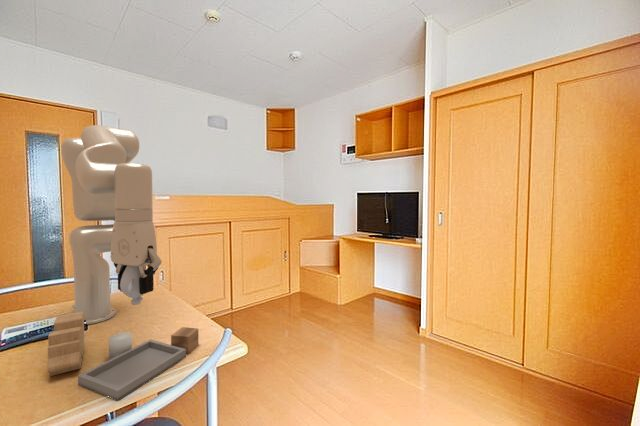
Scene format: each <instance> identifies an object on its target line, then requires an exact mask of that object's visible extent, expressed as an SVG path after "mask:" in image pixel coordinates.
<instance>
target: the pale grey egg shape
mask: <svg viewBox="0 0 640 426" xmlns="http://www.w3.org/2000/svg"><path fill="white" fill-rule="evenodd" d="M132 336H133V335H132V333H130V332H129V331H128V332H125V331H124V332H119V333H116V334H113V335H112V336H110V337H109V338H108V358H109V359H108V360H110V359H112V358H114V357H116V356H118V355H120V354H122V353H124V352H126V351H128V350H130V349H132V348H133V344H132V343H133V337H132Z"/></svg>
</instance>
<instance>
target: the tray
mask: <svg viewBox="0 0 640 426" xmlns="http://www.w3.org/2000/svg"><path fill="white" fill-rule="evenodd" d="M185 358H187V354H186V349H184V348H180V347H177V346H173V345H171V344H168V343H166V342H162V341H158V340H155V339H149V340H146V341H144V342H143V343H140V344H138V345H136V346H134V347H132V349H130V350H128V351H126V352H124V353H122V354H120V355H118V356H116V357H114V358H112V359H108V360H106V361H105V362H102V363H100V364H99V365H96V366H94V367H92V368H90V369H88V370H86V371H84V372H83V373H80V374H78V375H77V385H78V386H79V387H82V388H84V389H86V390H89V391H92V392H94V393H97V394H98V395H101V394H102V396H104V395H105V396H104V397H106V396H109V397H111V398H113V399H112V400H114V399H115V400H114V401H116V402H119V401H120V400H122V399H123V398H124V399H125V398H126V396H128V395H131V394H132V393H133V392H135V391H136V390H138V389H139V388H141V387H142V386H144V385H145V384H147V383H148V382H149V380H150V381H151V380H153V379H154V377H155V378H156V377H158V376H159V375H161V374H162V373H164V372H165V371H167V370H168V368H169V369H170V368H172V367H173V366H174V365H177V364H178V363H179V362H181V361H182V360H185ZM160 373H161V374H160ZM157 375H158V376H157ZM146 382H147V383H146ZM144 383H145V384H144ZM143 384H144V385H143ZM140 386H141V387H140ZM137 388H138V389H137ZM135 389H136V390H135ZM109 397H108V398H109ZM111 398H110V399H111Z"/></svg>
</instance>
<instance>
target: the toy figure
mask: <svg viewBox="0 0 640 426" xmlns="http://www.w3.org/2000/svg"><path fill="white" fill-rule="evenodd" d="M146 269H147V268H146V267H145V270H146ZM140 277H142V276H141V273H140V270H139V267H138V266H137V267H134V266H127V267H126V269H125V271H124V273H123V275H122V278H121V282H120V288H121V290H120V291H121V292H122V294H124V295H125V296H127V297H129V298H132V299H131V300H130V304H131V305H133V306H136V305H140V304H141V303H142V301H143V300H144V298H143V297H142V296H143V295H144V294H140V290H139V278H140Z"/></svg>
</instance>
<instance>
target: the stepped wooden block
mask: <svg viewBox="0 0 640 426" xmlns="http://www.w3.org/2000/svg"><path fill="white" fill-rule="evenodd" d="M47 337H48V338H47V340H48V341H47V342H48V346H47V367H46V368H47V370H46V371H47V374H49V377H53V376H56V375H60V374H64V373H68V372H72V371H76V370H80V369H82V360H83V357H84V351H85V325H84V311H83V312H77V313H75V312H71V313H66V314H59V315H56V318H55V320H54V322H53V331H51V332H50V333H48V336H47Z"/></svg>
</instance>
